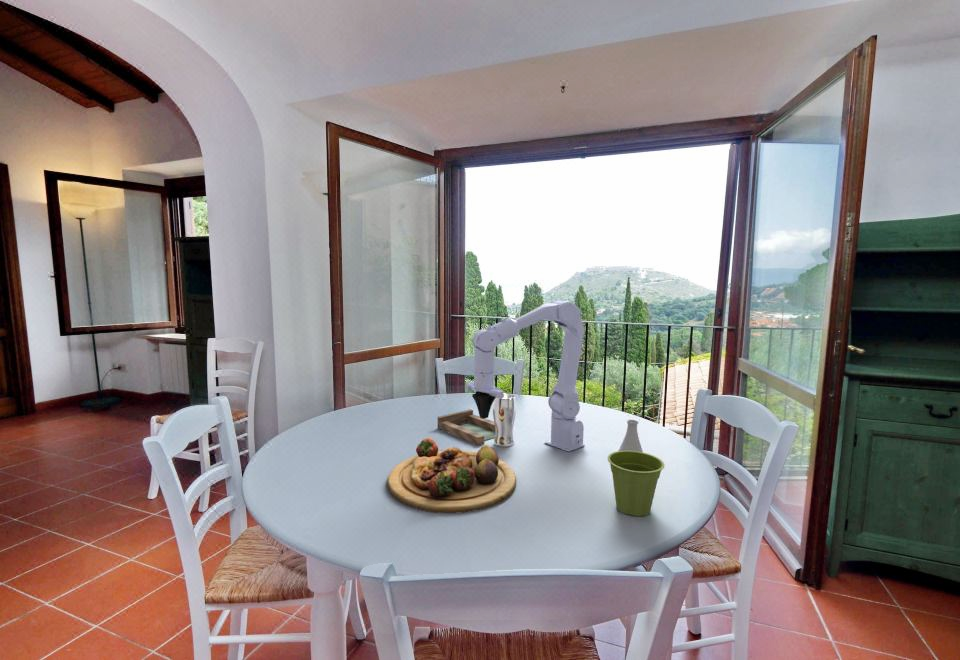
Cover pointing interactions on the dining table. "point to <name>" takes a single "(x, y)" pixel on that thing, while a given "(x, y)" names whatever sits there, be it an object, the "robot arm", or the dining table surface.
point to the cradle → (468, 426)
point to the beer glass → (504, 420)
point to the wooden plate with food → (451, 479)
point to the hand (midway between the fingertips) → (484, 417)
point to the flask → (631, 438)
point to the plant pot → (634, 480)
